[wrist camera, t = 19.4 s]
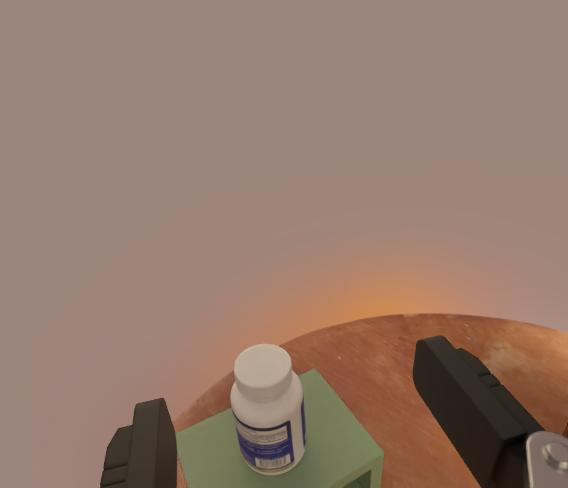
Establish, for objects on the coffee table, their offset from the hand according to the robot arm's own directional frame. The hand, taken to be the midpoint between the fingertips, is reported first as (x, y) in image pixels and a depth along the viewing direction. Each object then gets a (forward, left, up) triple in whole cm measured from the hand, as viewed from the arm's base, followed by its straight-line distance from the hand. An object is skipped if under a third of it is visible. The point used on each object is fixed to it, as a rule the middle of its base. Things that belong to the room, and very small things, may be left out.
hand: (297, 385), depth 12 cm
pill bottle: (-3, -11, -19) cm, 22 cm away
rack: (-3, -11, -26) cm, 28 cm away
